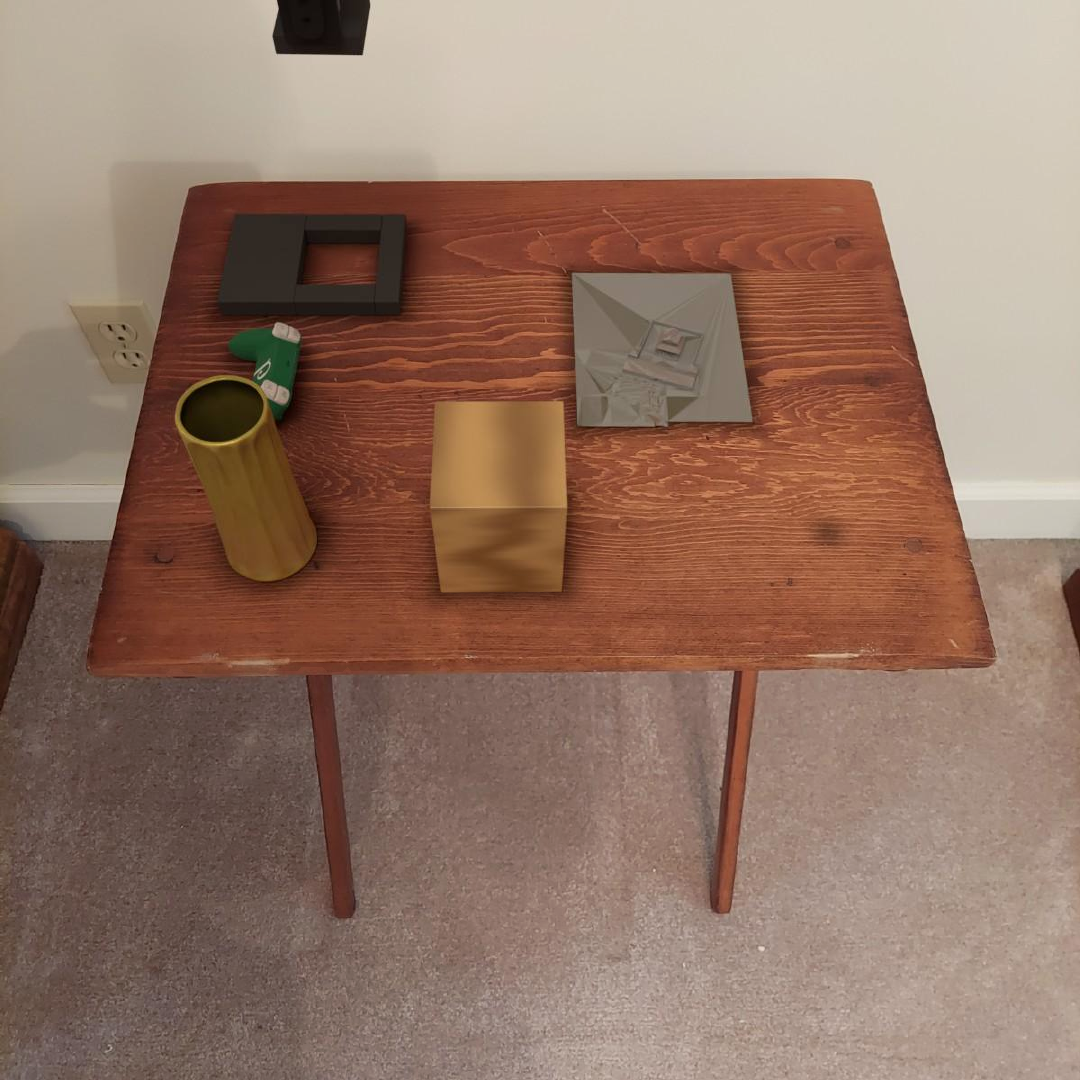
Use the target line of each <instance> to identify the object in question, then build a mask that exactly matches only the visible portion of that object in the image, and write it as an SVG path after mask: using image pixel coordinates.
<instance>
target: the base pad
mask: <svg viewBox="0 0 1080 1080" xmlns="http://www.w3.org/2000/svg"><path fill="white" fill-rule="evenodd" d="M407 235H408V224H407V215H406V214H405V213H404V214H403V213H386V214H385V213H383V214H382V213H379V214H378V213H376V214H375V213H373V214H372V213H370V214H369V213H308V214H307V213H234V217H233V221H232V226H231V230H230V236H229V240H228V246H227V252H226V255H225V259H224V260H225V261H224V265H223V270H222V275H221V280H220V285H219V289H218V295H217V299H216V303H217V306H218V309H219V313H220V316H222V317H223V316H225V317H227V316H230V317H231V316H233V317H234V316H237V317H238V316H400V315H401V314H402V302H403V300H402V299H403V287H404V275H405V260H406V249H407ZM308 244H379V249H378V250H379V251H378V259H377V270H376V280H375V284H302V283H303V277H304V270H305V262H306V257H307V249H308Z"/></svg>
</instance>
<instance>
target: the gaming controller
mask: <svg viewBox="0 0 1080 1080" xmlns="http://www.w3.org/2000/svg"><path fill="white" fill-rule="evenodd" d="M302 343H303V338H302V335H301V333H300V331H298V330H297V329H296V328H294V327H293V326H289V325H288V324H285V323H283V322H280V321H279V322H278V321H276V322H275V324H274V326H273V327H264V328H261V327H260V328H252V329H246V330H242V331H240V332H237V333H236V334H234V335H233V337H232V338H231V339H230V340H229V341H228V344H227V348H228V350H229V352H230V353H231V354H232V355H233V356H234V357H236V358H238V359H240V360H243V361H247V362H255V363H256V364H255V368H254V371H253V372H254V373H253V378H252V381H253V382H255V383H256V384H258V385H259V386H260V387H261V388H262V390H263V391H264V393H265V395H266V397H267V400H268V402H269V406H270V408H271V411H272V414H273V418H274V421H275V422H276V421H280V420H281V419H282V418H283V414H284V413H285V412H286V411H287V410H288V407H289V406H290V403H291V401H292V396H293V389H294V385H295V380H296V374H297V369H298V363H299V357H300V352H301V349H302Z"/></svg>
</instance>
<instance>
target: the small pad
mask: <svg viewBox="0 0 1080 1080" xmlns="http://www.w3.org/2000/svg"><path fill="white" fill-rule="evenodd" d="M338 7H339V13H340V20H341V26H342V33H343V36H342V42H341V43H340V44H339V45H336V46H330V45H290V44H288V43H287V42H286V41H285V38H284V33H283V29H282V24H281V19H280V14H279V9H278V10H277V13H276V18H275V22H274V26H273V32H272V35H271V36H272V41H273V45H274V51H275V54H276V55H300V56H301V55H305V56H307V55H308V56H309V55H311V56H312V55H314V56H316V55H317V56H318V55H319V56H363V55H364V50H365V45H366V44H365V43H366V37H367V31H368V25H369V24H368V23H369V18H370V12H371V0H338Z"/></svg>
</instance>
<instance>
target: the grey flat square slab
mask: <svg viewBox="0 0 1080 1080" xmlns="http://www.w3.org/2000/svg"><path fill="white" fill-rule="evenodd" d="M732 281H733V280H732V274H731V273H677V272H676V273H673V272H671V273H669V272H665V273H663V272H662V273H659V272H658V273H650V272H649V273H648V272H647V273H644V272H638V273H637V272H633V273H632V272H571V287H572V288H571V289H572V313H573V316H572V317H573V340H574V342H573V343H574V367H575V368H574V370H575V394H576V395H575V396H576V398H575V399H576V420H577V421H576V424H577V427H656V426H662V427H669V423H754V421H753V413H752V407H751V402H750V401H751V399H750V395H749V388H748V380H747V374H746V367H745V361H744V354H743V347H742V341H741V335H740V326H739V320H738V314H737V313H738V312H737V307H736V300H735V294H734V288H733V287H734V286H733V282H732ZM827 534H829V532H827Z"/></svg>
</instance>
